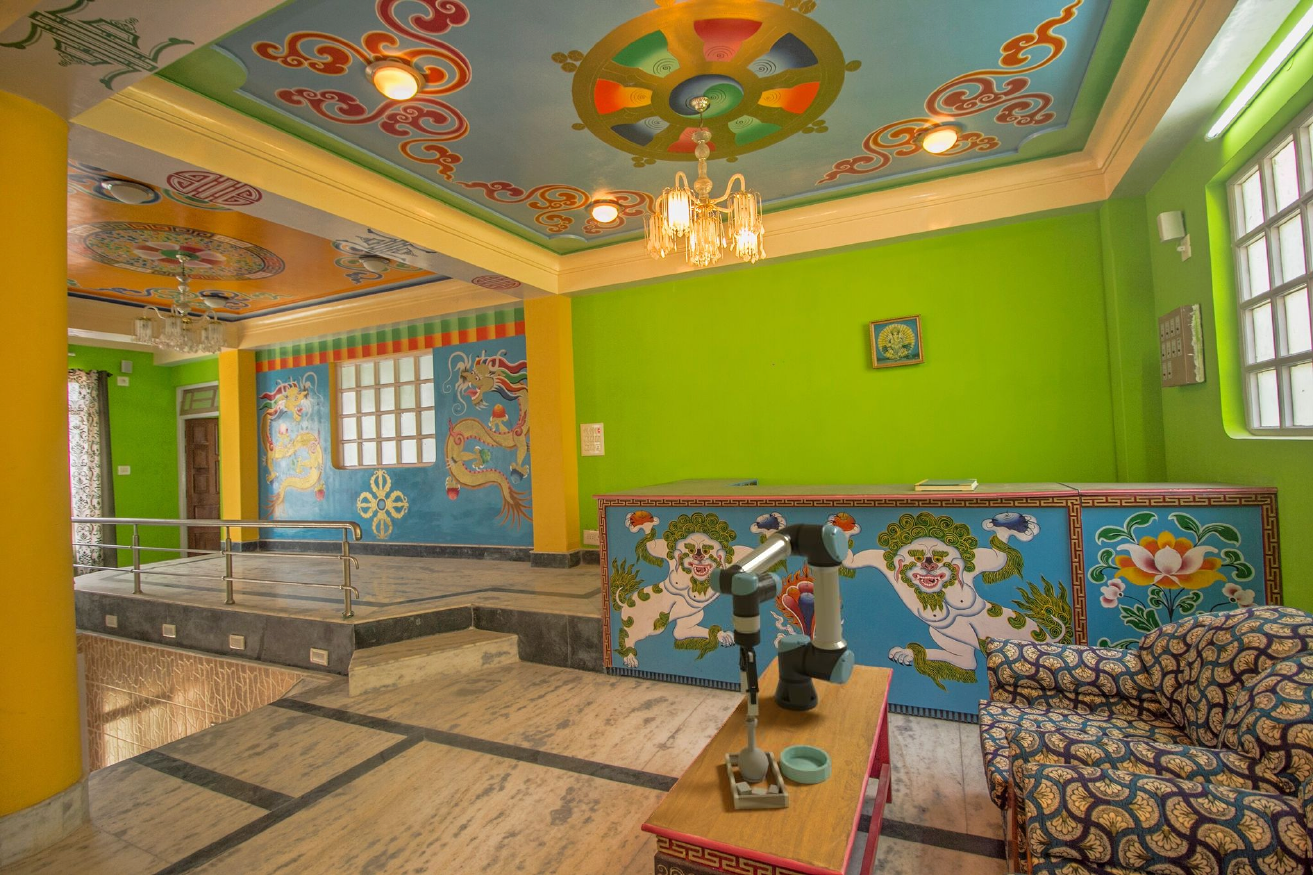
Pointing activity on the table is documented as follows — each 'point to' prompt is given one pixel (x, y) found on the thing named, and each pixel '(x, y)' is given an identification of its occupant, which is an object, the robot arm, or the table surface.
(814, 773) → the bowl
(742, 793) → the grey block
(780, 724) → the table surface
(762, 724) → the table surface
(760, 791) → the pebble
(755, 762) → the potion bottle
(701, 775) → the table surface
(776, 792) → the pebble
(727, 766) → the tray
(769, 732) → the table surface
